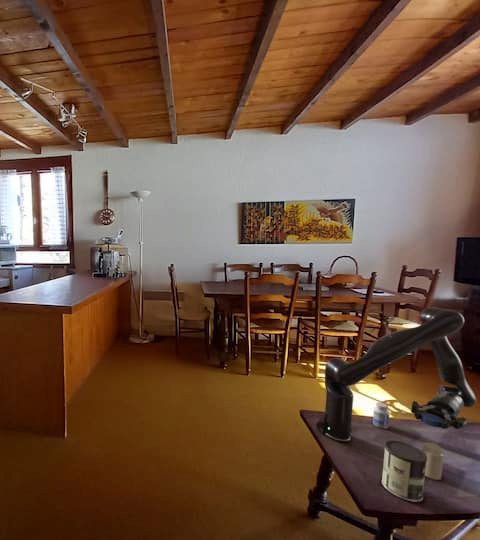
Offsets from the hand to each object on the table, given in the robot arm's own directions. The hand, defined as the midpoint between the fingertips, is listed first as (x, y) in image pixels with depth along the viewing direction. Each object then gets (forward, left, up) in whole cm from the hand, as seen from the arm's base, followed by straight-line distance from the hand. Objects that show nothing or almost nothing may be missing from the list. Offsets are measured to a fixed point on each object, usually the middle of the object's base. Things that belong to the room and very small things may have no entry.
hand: (429, 421), depth 104 cm
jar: (+2, +5, -22) cm, 22 cm away
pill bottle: (-12, +31, -22) cm, 40 cm away
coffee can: (-6, -11, -22) cm, 25 cm away
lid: (+1, +2, 0) cm, 2 cm away
